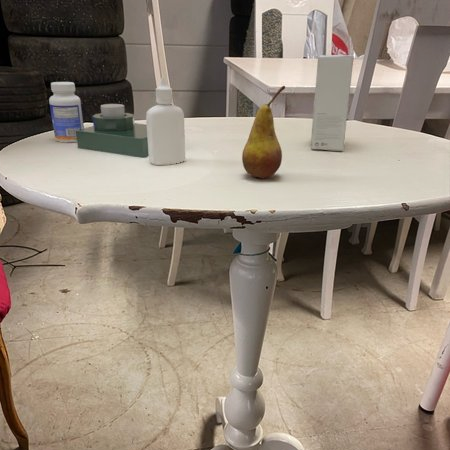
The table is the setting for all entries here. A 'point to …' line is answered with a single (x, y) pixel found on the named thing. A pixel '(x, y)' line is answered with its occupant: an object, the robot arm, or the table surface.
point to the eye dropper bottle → (165, 129)
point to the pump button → (112, 110)
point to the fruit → (262, 145)
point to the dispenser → (115, 136)
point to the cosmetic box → (331, 101)
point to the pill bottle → (65, 111)
